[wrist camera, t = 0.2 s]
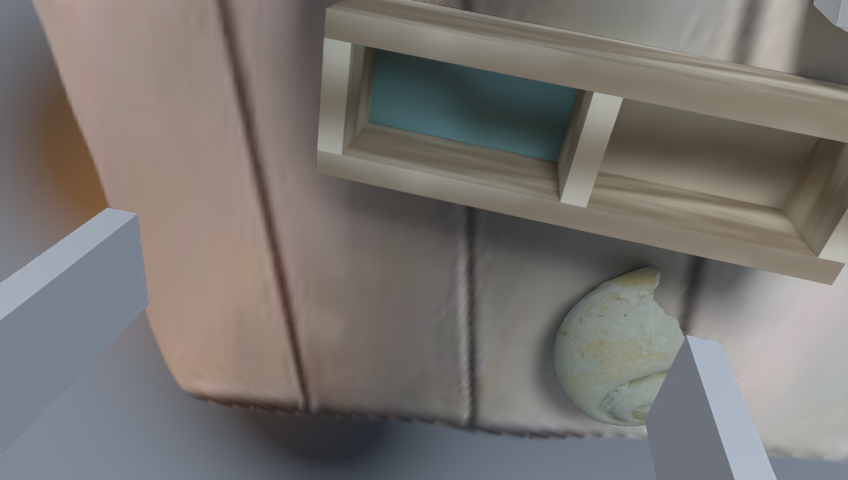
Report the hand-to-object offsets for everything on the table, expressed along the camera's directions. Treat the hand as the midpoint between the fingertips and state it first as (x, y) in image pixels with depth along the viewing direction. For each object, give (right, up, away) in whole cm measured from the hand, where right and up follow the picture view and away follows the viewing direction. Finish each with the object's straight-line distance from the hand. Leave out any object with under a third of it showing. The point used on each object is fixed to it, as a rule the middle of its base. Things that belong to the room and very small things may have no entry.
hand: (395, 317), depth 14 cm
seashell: (+16, -5, +32) cm, 36 cm away
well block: (+11, +10, +24) cm, 28 cm away
